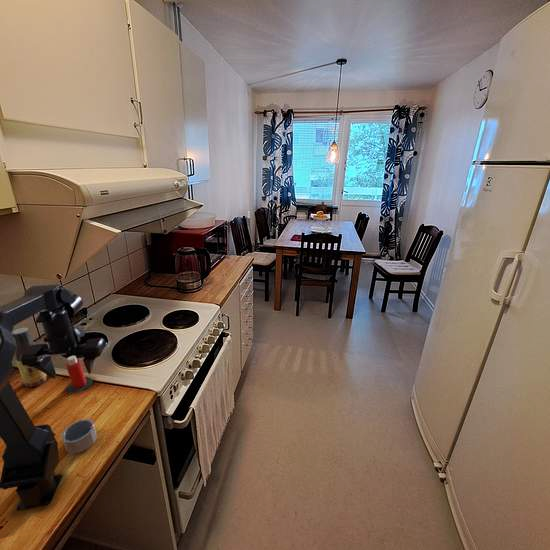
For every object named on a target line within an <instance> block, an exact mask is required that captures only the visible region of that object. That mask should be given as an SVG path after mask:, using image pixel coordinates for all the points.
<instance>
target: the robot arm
mask: <svg viewBox="0 0 550 550" xmlns="http://www.w3.org/2000/svg"><path fill="white" fill-rule="evenodd" d="M83 305H84V301H83V299H82V297H80V296H79V295H78V294H76V293H74V291H73V290H72V289H70V290H68V289H67V288H64V285H63V284H61V283H58V284H42V285H32V286H30V287H29V288H28V289H26V290H25V291H23V295H22V296H21V297H19V298H16V299H14V300H12V301H9V302H7V303H4V304H2V305H0V439H1V440H2V441H3V443H4V444H5V449H4V451H3V453H2V456H1V459H2V461H3V465H2V471H1V476H0V489H1V490H3V491H5V490H8V489H14V488H16V489H15V493H16V494H17V497H18V498H19V500H20V501H19V503H18V505H17V506H16V509H15V510H16V511H17V512H20V511H25V510H29V509H30V510H31V509H35V508H39V507H45V506H49V505H50V504H51V503H52V501H53V499H54V497H55V495H56V492H57V490H58V488H59V486H60V484H61V481H62V479H63V477H64V476H63V474H56V473H55V471H56V469H57V467H58V466H59V463H60V455H59V454H60V453H59V444H58V441H57V439H56V437H55V436H56V433H55V432H53V429H52V427H51V425H50V424H48V423H46V424H39V425H35V424H34V422H33V420H32V419H31V417H30V415H29V414H28V412H27V410H26V408H25V407H24V405H23V403H22V401H21V400H20V399H19V397H18V395H17V394H16V392H15V390H14V388H13V386H12V385H11V383H10V379H11V376H12V375H13V371H14V369H15V368H14V365H13V359H14V357H15V355H14V353H15V350H16V347H17V345H16V342H15V339H14V337H13V335H12V332H13V331H14V327H15V326H16V325H18V324H20V323H22V322H23V321H25V320H27V319H29V318H30V317H33V316H34V315H36V314H38V313H39V314H38V316H36V318H35V323H36V324H41V325H42V329H43V332H44V335H45V336H44V337H43V342H44V343H38V344H37V343H35V344H36V345H31V346H30V347H29V348H28V349H27V350H26V351H25V352H24V353H23V354H22V355H21V357H20V361H21V363H22V365H28V366H29V367H34V368H36V369H38V370H40V371H41V372H43V373H45V374H46V375H47V377H50V378H51V379H55V378H57V372H56V369H55V366H54V364H53V361H52V357H54V356H64V355H67V354H68V355H69V354H77V353H81V355H82V357H83V359H82V362H83V364H84V366H85V367H84V368H85V369H86V371H87V373H88V375H91V374H92V373H93V367H94V361H95V360H96V359H97V358H99V357H101V355H102V353H103V351H104V350H105V348H106V346H107V344H106V340H105V339H104V338H103V337H97V338H89V339H87V341H86V342H85V343H84V344H77V343H80V342H81V338H82V337H85V327H84V325H75V324H73V325H71V321H70V320H71V319H72V318H73V317H74V316H75V315H76V314H77V313H78V312H79V310H80V309H81V308H82V307H83Z"/></svg>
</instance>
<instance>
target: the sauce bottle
mask: <svg viewBox="0 0 550 550" xmlns="http://www.w3.org/2000/svg"><path fill="white" fill-rule="evenodd" d="M12 335H13V338H14V340H15V343H16V345H17V347H16V350H15V353H14V357H15V362H16V365H17V367H18V371H19V373H20V376H21V380H22V382H23V383H24V386H25V387H27V388H33V387H36V386H39V385H41V384H43V383H44V382H45V381H47V378H48V375H46V374H45V373H43V372H41V371H40V370H38V369H36V368H34V367H29V366H28V365H22V363H21V361H20V357H21V355H22V354H23V353H24V352H25V351H26V350H27V349H28V348H29V347H30V346H31V345H36V344H37V343H35V341H33V339H32V338H31V335H30V330H29V328H28V327H19V328H17V329H14V330H12Z"/></svg>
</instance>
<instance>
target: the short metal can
mask: <svg viewBox="0 0 550 550" xmlns="http://www.w3.org/2000/svg"><path fill="white" fill-rule="evenodd" d="M97 438H98V433H97V430H96V427H95V424H94V421H93V420H91V419H88V418H83V419H78V420H77V421H75V422H73V423H71V424H70V425H68V426H67V427H65V429H64V431H63V432H62V434H61V440H62V443H63V445H64V449H65V451H66V452H67V453H68V454H72V455H75V454H80V453H82V452H85V451H86V450H89V448H91V447H92V446H93V445H94V443H95V442H96V440H97Z"/></svg>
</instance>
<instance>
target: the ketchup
mask: <svg viewBox="0 0 550 550" xmlns="http://www.w3.org/2000/svg"><path fill="white" fill-rule="evenodd" d="M66 360H67V363H66V364H65V367H66V369H67V374H68V377H69V379H70V383H72V386H73V388H75V389H78V388H81V387H83V386H85V385H86V379H85V377H86V375H85V373H84V370H83V366H82V363H81V359H79V358H77V356H76V355H71V356H68V357H67V359H66Z"/></svg>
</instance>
